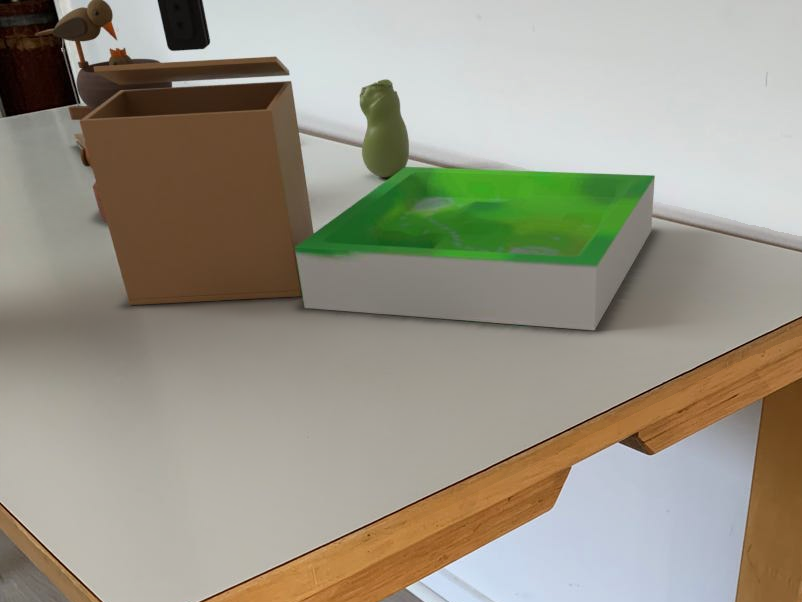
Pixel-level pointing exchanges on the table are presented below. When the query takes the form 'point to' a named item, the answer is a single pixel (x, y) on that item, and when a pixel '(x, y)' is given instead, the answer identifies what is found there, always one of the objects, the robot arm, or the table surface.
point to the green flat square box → (482, 246)
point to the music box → (89, 83)
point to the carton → (202, 190)
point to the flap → (193, 70)
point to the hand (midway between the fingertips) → (189, 47)
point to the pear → (383, 130)
